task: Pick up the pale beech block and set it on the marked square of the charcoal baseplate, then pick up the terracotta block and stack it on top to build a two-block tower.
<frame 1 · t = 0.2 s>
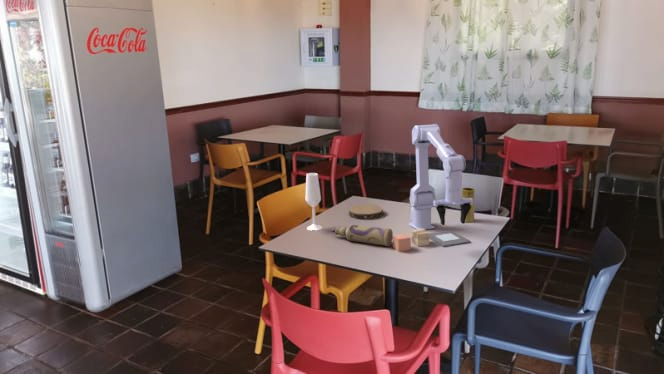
hand: (452, 223, 190), 10 cm above the table, tool pointing down, fingers open, 7 cm apart
terracotta block: (401, 248, 193), on the table
beech block: (420, 243, 198), on the table
baseplate: (447, 239, 201), on the table
wood slice: (366, 215, 237), on the table
vase: (467, 220, 223), on the table
champagne flute: (314, 228, 221), on the table
decorative bottle: (363, 241, 203), on the table
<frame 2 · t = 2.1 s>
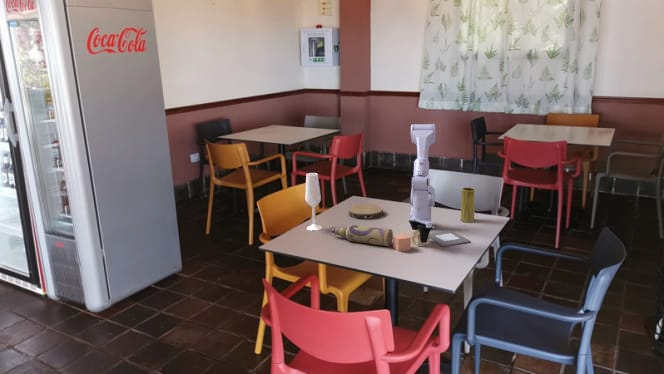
hand: (420, 239, 198), 1 cm above the table, tool pointing down, fingers closed on beech block, 5 cm apart
beech block: (420, 243, 198), on the table, touching gripper
everything else where it was.
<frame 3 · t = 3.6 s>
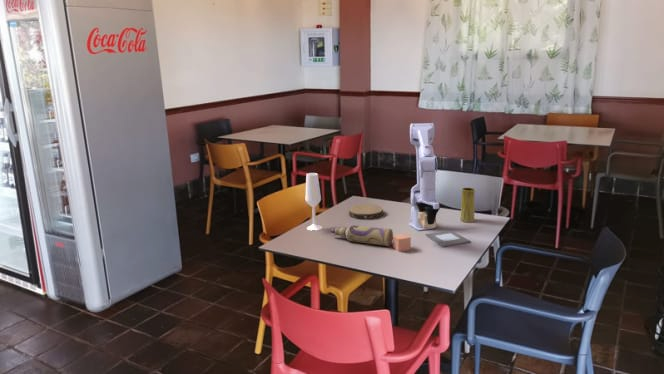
hand: (427, 221, 197), 8 cm above the table, tool pointing down, fingers closed on beech block, 5 cm apart
beech block: (427, 225, 197), point 7 cm above the table, touching gripper
everything else where it was.
when the fingers open (3 cm above the table, at t = 5.6 s): beech block stays where it is, resting on baseplate.
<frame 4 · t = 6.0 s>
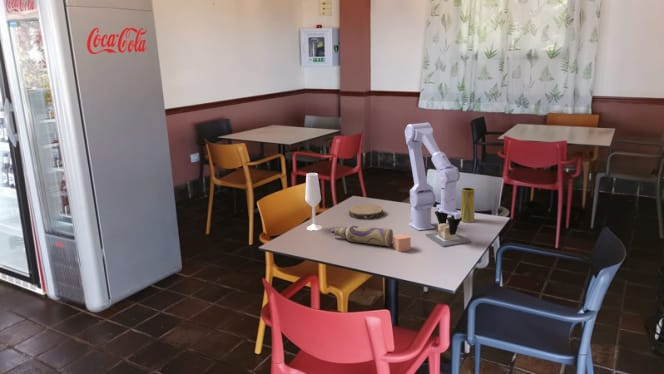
hand: (447, 231, 201), 3 cm above the table, tool pointing down, fingers open, 7 cm apart
beech block: (446, 237, 201), point 1 cm above the table, touching baseplate
everything else where it was.
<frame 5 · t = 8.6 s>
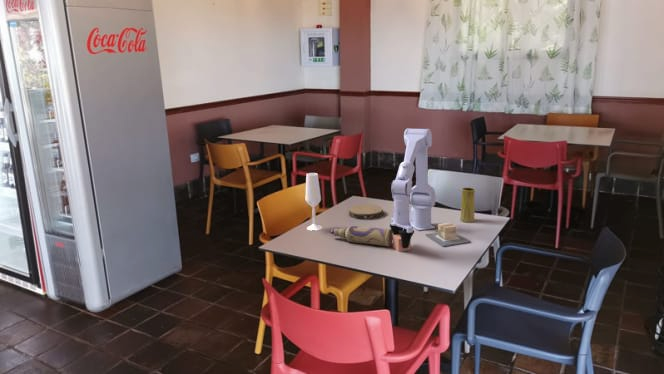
hand: (401, 244, 193), 1 cm above the table, tool pointing down, fingers open, 6 cm apart
nothing on the table moved.
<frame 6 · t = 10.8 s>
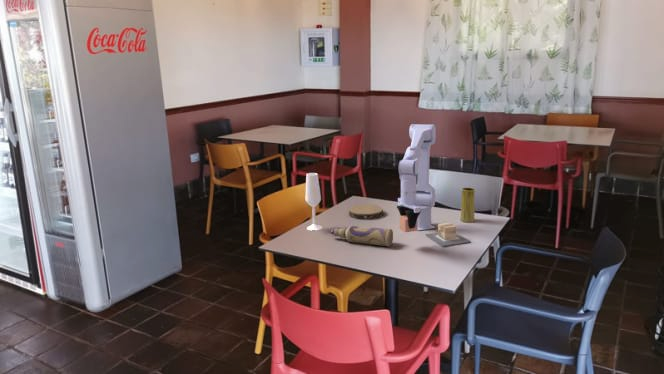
hand: (408, 225, 193), 9 cm above the table, tool pointing down, fingers closed on terracotta block, 5 cm apart
terracotta block: (408, 229, 193), point 7 cm above the table, touching gripper
when the fingers open (8 cm above the table, at t = 13.0 s): terracotta block stays where it is, resting on beech block.
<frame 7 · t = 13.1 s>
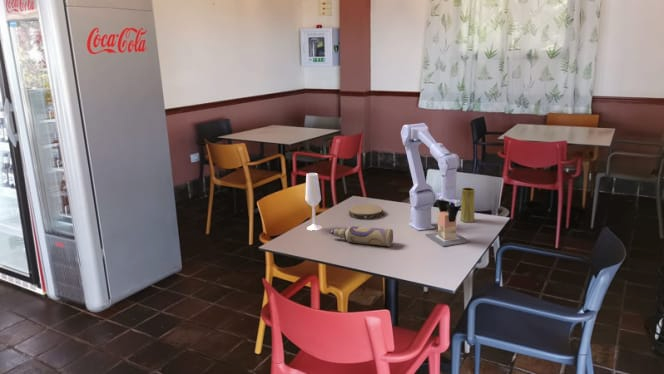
hand: (447, 219, 199), 8 cm above the table, tool pointing down, fingers open, 6 cm apart
terracotta block: (446, 225, 200), point 6 cm above the table, touching beech block
beech block: (446, 237, 201), point 1 cm above the table, touching baseplate, terracotta block
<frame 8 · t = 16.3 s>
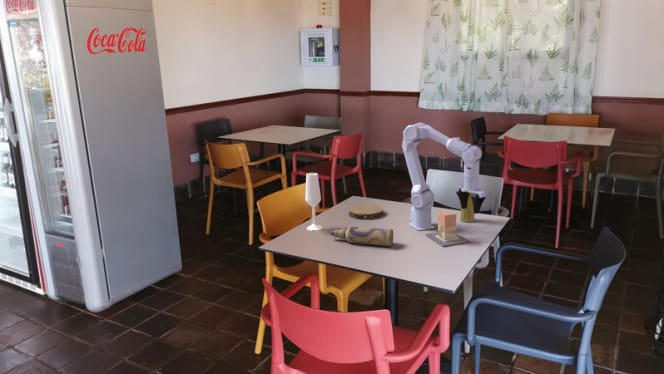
hand: (470, 210, 202), 10 cm above the table, tool pointing down, fingers open, 7 cm apart
at the end: beech block 0.3 cm off-centre on the baseplate, point 0.8 cm above the baseplate's base; terracotta block 0.0 cm off-centre on the beech block, point 5.0 cm above the beech block's base; terracotta block tilted 0° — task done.
